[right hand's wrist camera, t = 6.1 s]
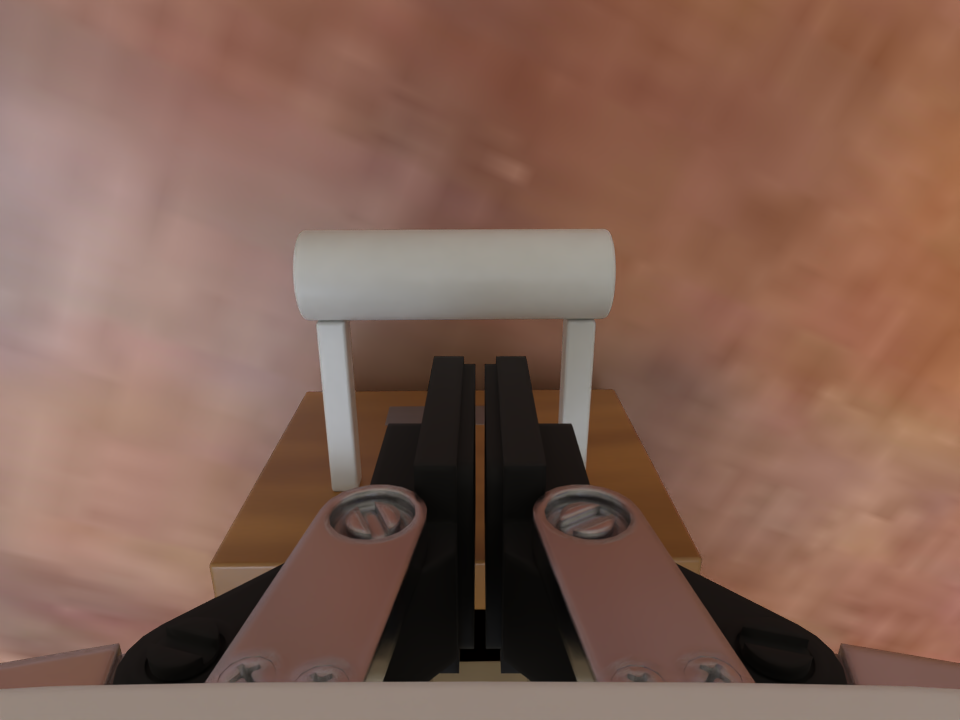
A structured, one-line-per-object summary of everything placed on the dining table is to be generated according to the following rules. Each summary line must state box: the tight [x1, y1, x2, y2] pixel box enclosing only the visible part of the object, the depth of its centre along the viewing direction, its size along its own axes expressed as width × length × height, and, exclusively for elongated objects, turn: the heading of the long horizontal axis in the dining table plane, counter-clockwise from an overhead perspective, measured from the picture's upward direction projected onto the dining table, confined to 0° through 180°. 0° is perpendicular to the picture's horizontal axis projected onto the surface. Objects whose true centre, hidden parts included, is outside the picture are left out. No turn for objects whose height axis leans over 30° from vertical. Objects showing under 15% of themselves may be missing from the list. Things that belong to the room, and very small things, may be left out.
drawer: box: [210, 229, 702, 662], centre depth 17 cm, size 20×9×8 cm, turn 0°
